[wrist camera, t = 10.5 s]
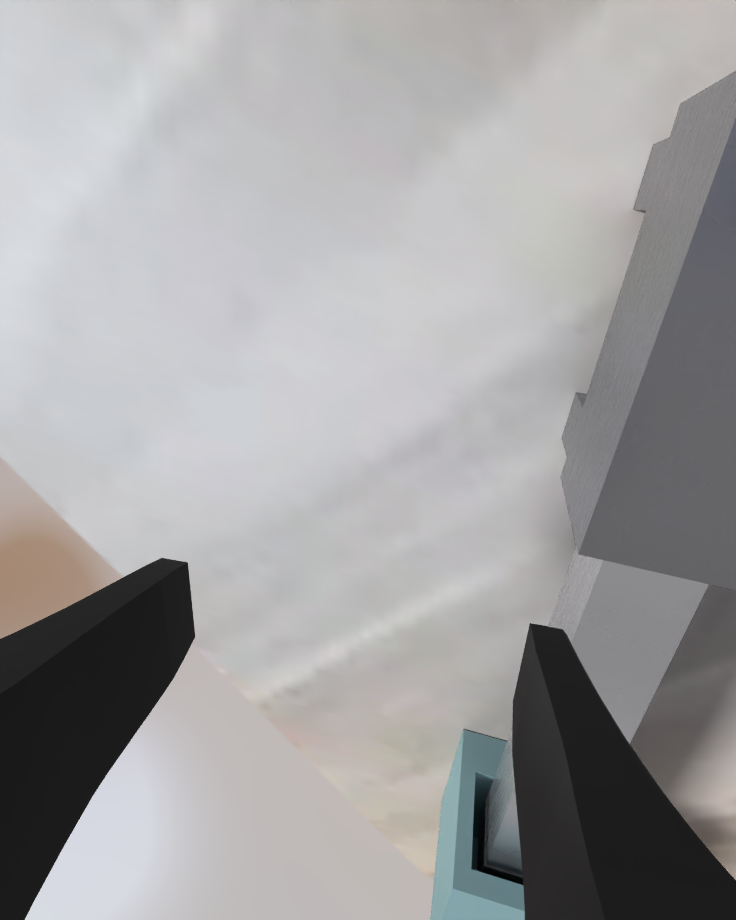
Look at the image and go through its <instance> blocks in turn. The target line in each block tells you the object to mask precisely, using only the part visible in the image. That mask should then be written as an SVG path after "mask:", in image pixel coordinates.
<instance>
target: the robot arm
mask: <svg viewBox="0 0 736 920" xmlns="http://www.w3.org/2000/svg"><path fill="white" fill-rule="evenodd" d="M194 638H195V631H194V621H193V611H192V601H191V591H190V581H189V571H188V563H187V562H181V561H176V560H170V559H164V558H161V559H159V560H157V561H155V562H152V563H150V564H148V565H146V566H144V567H142V568H140V569H139V570H137V571H135V572H133V573H131V574H129V575H127V576H125V577H123V578H122V579H120V580H118V581H116V582H114V583H112V584H110V585H109V586H107V587H105V588H103V589H101V590H99V591H97V592H95V593H93V594H91V595H90V596H88V597H86V598H84V599H82V600H80V601H78V602H76V603H74V604H72V605H71V606H69V607H67V608H65V609H63V610H60V611H58V612H57V613H54V614H52V615H50V616H48V617H46V618H44V619H42V620H40V621H38V622H36V623H34V624H32V625H30V626H27V627H25V628H23V629H21V630H19V631H17V632H15V633H13V634H11V635H8V636H6V637H4V638H2V639H0V920H25V918H26V916H27V914H28V912H29V910H30V908H31V906H32V904H33V902H34V900H35V898H36V896H37V895H38V893H39V891H40V889H41V887H42V885H43V883H44V882H45V880H46V878H47V876H48V874H49V872H50V871H51V869H52V867H53V865H54V863H55V861H56V859H57V858H58V856H59V854H60V852H61V850H62V848H63V847H64V845H65V843H66V841H67V840H68V838H69V836H70V834H71V833H72V831H73V829H74V827H75V826H76V824H77V822H78V820H79V819H80V817H81V815H82V814H83V812H84V810H85V808H86V807H87V805H88V803H89V801H90V800H91V798H92V796H93V795H94V793H95V791H96V790H97V788H98V787H99V785H100V784H101V782H102V781H103V779H104V778H105V776H106V775H107V773H108V772H109V770H110V769H111V767H112V766H113V765H114V763H115V762H116V760H117V759H118V757H119V756H120V755H121V753H122V752H123V750H124V749H125V747H126V746H127V745H128V743H129V742H130V740H131V739H132V737H133V736H134V734H135V733H136V732H137V730H138V729H139V728H140V726H141V725H142V723H143V722H144V720H145V719H146V717H147V716H148V715H149V713H150V712H151V710H152V709H153V708H154V706H155V705H156V703H157V702H158V700H159V699H160V697H161V696H162V695H163V693H164V692H165V690H166V689H167V687H168V686H169V684H170V682H171V681H172V680H173V678H174V676H175V674H176V673H177V671H178V669H179V667H180V665H181V663H182V662H183V660H184V658H185V656H186V654H187V652H188V650H189V648H190V646H191V644H192V642H193V640H194ZM512 758H513V770H514V782H515V794H516V805H517V816H518V827H519V838H520V850H521V861H522V872H523V886H524V906H525V920H736V880H735V879H734V878H733V877H732V876H731V875H730V874H729V872H728V871H727V870H726V869H725V868H724V867H723V866H722V865H721V864H720V862H719V861H718V860H717V859H716V858H715V857H714V856H713V854H712V853H711V852H710V851H709V850H708V848H707V847H706V846H705V845H704V843H703V842H702V841H701V840H700V839H699V837H698V836H697V835H696V834H695V833H694V831H693V830H692V829H691V828H690V826H689V825H688V824H687V823H686V821H685V820H684V819H683V817H682V816H681V815H680V814H679V812H678V811H677V810H676V808H675V807H674V806H673V805H672V803H671V802H670V801H669V799H668V798H667V797H666V795H665V794H664V793H663V791H662V790H661V789H660V787H659V786H658V784H657V783H656V782H655V780H654V779H653V777H652V776H651V775H650V773H649V772H648V770H647V769H646V767H645V766H644V765H643V763H642V762H641V760H640V759H639V757H638V756H637V754H636V753H635V751H634V750H633V749H632V747H631V745H630V744H629V742H628V741H627V739H626V738H625V736H624V735H623V733H622V732H621V730H620V728H619V727H618V725H617V724H616V722H615V720H614V719H613V717H612V715H611V714H610V712H609V711H608V709H607V707H606V706H605V704H604V702H603V701H602V699H601V697H600V696H599V694H598V692H597V690H596V689H595V687H594V685H593V683H592V682H591V680H590V678H589V676H588V674H587V673H586V671H585V669H584V667H583V665H582V663H581V661H580V660H579V658H578V656H577V654H576V652H575V650H574V648H573V646H572V644H571V642H570V640H569V638H568V636H567V634H566V633H565V632H564V630H563V629H559V628H553V627H548V626H542V625H536V624H531V623H530V626H529V630H528V635H527V639H526V644H525V649H524V653H523V658H522V663H521V667H520V672H519V676H518V681H517V686H516V690H515V695H514V699H513V727H512Z"/></svg>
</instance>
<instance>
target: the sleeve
mask: <svg viewBox="0 0 736 920" xmlns="http://www.w3.org/2000/svg"><path fill="white" fill-rule="evenodd" d="M633 210H640V211H646V213H645V216H644V219H643V222H642V225H641V228H640V231H639V235H638V238H637V241H636V244H635V247H634V250H633V253H632V256H631V259H630V263H629V266H628V269H627V272H626V275H625V278H624V281H623V284H622V287H621V291H620V294H619V297H618V300H617V303H616V306H615V309H614V312H613V315H612V319H611V322H610V325H609V328H608V331H607V334H606V337H605V340H604V343H603V347H602V350H601V353H600V356H599V359H598V362H597V365H596V368H595V372H594V375H593V378H592V381H591V384H590V387H589V390H588V393H587V395H586V394H581V393H576V394H575V398H574V401H573V404H572V407H571V410H570V414H569V417H568V420H567V423H566V426H565V430H564V433H563V436H562V441H563V444H564V448H565V452H566V455H567V459H566V462H565V465H564V468H563V471H562V474H561V481H562V486H563V490H564V494H565V499H566V503H567V508H568V512H569V516H570V521H571V525H572V530H573V534H574V538H575V543H576V547H577V551H578V554H579V555H583V556H587V557H592V558H596V559H600V560H605V561H609V562H614V563H618V564H622V565H627V566H631V567H635V568H640V569H644V570H648V571H653V572H657V573H662V574H666V575H670V576H675V577H679V578H683V579H688V580H692V581H696V582H701V583H705V584H709V585H714V586H718V587H723V588H727V589H731V590H736V71H735V72H733V73H731V74H730V75H728V76H726V77H725V78H723V79H721V80H720V81H718V82H716V83H715V84H713V85H711V86H709V87H708V88H706V89H704V90H703V91H701V92H699V93H698V94H696V95H694V96H693V97H691V98H689V99H687V100H686V101H684V102H682V103H681V104H680V107H679V110H678V113H677V116H676V119H675V123H674V126H673V129H672V132H671V135H670V138H667V139H665V140H663V141H660V142H658V143H656V144H653V148H652V151H651V154H650V157H649V160H648V164H647V167H646V170H645V173H644V176H643V180H642V183H641V186H640V189H639V192H638V196H637V199H636V202H635V205H634V208H633Z"/></svg>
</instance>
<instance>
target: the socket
mask: <svg viewBox="0 0 736 920" xmlns="http://www.w3.org/2000/svg"><path fill="white" fill-rule="evenodd" d="M506 743H507V741H503V740H500V739H496V738H492V737H489V736H485V735H482V734H478V733H474V732H471V731H467V730H463V733H462V736H461V740H460V743H459V746H458V750H457V753H456V756H455V759H454V763H453V766H452V769H451V773H450V776H449V779H448V783H447V786H446V789H445V792H444V796H443V799H442V805H441V815H440V825H439V835H438V846H437V856H436V866H435V876H434V887H433V897H432V907H431V917H430V920H525V906H524V886H523V885H521V884H518V883H514V882H511V881H508V880H505V879H501V878H498V877H495V876H492V875H489V874H485V873H482V872H479V871H477V863H478V834H479V814H480V811H481V808H482V805H483V803H484V800H485V797H487V796H488V793H489V791H490V788H491V785H492V782H493V779H494V777H495V774H496V771H497V768H498V765H499V763H500V760H501V757H502V754H503V751H504V749H505V746H506Z"/></svg>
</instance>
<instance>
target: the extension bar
mask: <svg viewBox="0 0 736 920" xmlns="http://www.w3.org/2000/svg"><path fill="white" fill-rule="evenodd" d="M708 585H709V584H705V583H701V582H696V581H692V580H688V579H683V578H679V577H675V576H670V575H666V574H662V573H657V572H653V571H648V570H644V569H640V568H635V567H631V566H627V565H622V564H618V563H614V562H609V561H605V560H600V559H596V558H592V557H587V556H583V555H579V554H578V551H577V547H576V550H575V552H574V555H573V558H572V561H571V564H570V566H569V569H568V572H567V575H566V578H565V580H564V583H563V586H562V589H561V592H560V594H559V597H558V600H557V603H556V606H555V608H554V611H553V614H552V617H551V620H550V622H549V625H548V627H553V628H559V629H563V630H564V632H565V633H566V634H567V636H568V638H569V640H570V642H571V644H572V646H573V648H574V650H575V652H576V654H577V656H578V658H579V660H580V661H581V663H582V665H583V667H584V669H585V671H586V673H587V674H588V676H589V678H590V680H591V682H592V683H593V685H594V687H595V689H596V690H597V692H598V694H599V696H600V697H601V699H602V701H603V702H604V704H605V706H606V707H607V709H608V711H609V712H610V714H611V715H612V717H613V719H614V720H615V722H616V724H617V725H618V727H619V728H620V730H621V732H622V733H623V735H624V736H625V738H626V739H627V741H628V742H629V744H630V742H631V740H632V738H633V736H634V734H635V732H636V730H637V728H638V726H639V724H640V722H641V720H642V718H643V716H644V714H645V712H646V710H647V708H648V706H649V704H650V702H651V700H652V698H653V696H654V694H655V692H656V690H657V688H658V686H659V684H660V682H661V680H662V678H663V676H664V674H665V672H666V670H667V668H668V666H669V664H670V662H671V660H672V658H673V656H674V654H675V652H676V650H677V648H678V646H679V644H680V642H681V640H682V638H683V636H684V634H685V632H686V630H687V628H688V626H689V624H690V622H691V620H692V618H693V616H694V614H695V612H696V610H697V608H698V605H699V603H700V601H701V599H702V597H703V595H704V593H705V591H706V589H707V587H708ZM512 727H513V726H512ZM477 871H479V872H482V873H485V874H489V875H492V876H495V877H498V878H501V879H505V880H508V881H511V882H514V883H518V884H521V885H523V872H522V861H521V850H520V838H519V827H518V816H517V805H516V794H515V782H514V770H513V758H512V729H511V732H510V735H509V737H508V740H507V743H506V746H505V749H504V751H503V754H502V757H501V760H500V763H499V765H498V768H497V771H496V774H495V777H494V779H493V782H492V785H491V788H490V791H489V793H488V796H487V797H485V800H484V803H483V805H482V808H481V811H480V814H479V834H478V863H477Z"/></svg>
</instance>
